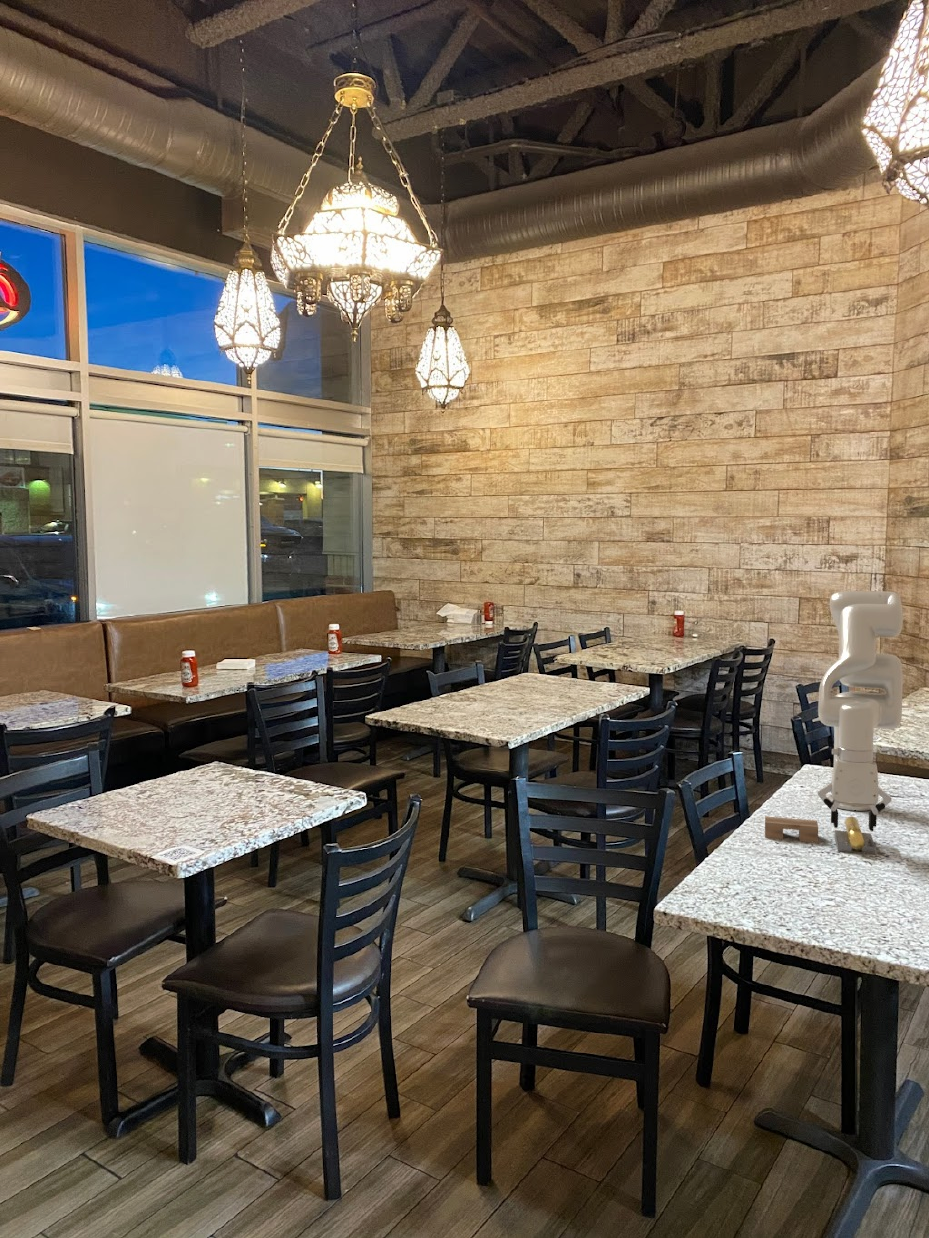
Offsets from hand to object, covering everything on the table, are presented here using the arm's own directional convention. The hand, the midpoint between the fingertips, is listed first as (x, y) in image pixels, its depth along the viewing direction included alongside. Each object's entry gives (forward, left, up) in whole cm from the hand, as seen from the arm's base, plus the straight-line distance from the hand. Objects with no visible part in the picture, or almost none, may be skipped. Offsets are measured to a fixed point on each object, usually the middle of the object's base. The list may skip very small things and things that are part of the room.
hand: (853, 827), depth 210 cm
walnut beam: (+1, -14, -5) cm, 15 cm away
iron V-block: (+4, 0, -5) cm, 6 cm away
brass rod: (+3, 0, 0) cm, 3 cm away
